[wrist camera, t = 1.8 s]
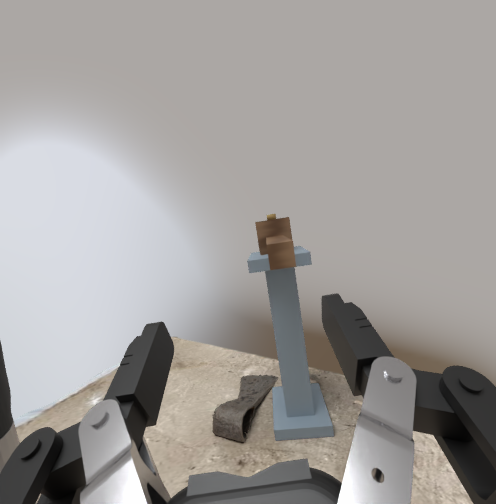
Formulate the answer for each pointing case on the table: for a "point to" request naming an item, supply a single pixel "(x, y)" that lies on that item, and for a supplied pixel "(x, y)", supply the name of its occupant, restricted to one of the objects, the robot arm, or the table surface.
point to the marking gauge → (276, 242)
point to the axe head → (241, 407)
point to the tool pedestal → (292, 356)
